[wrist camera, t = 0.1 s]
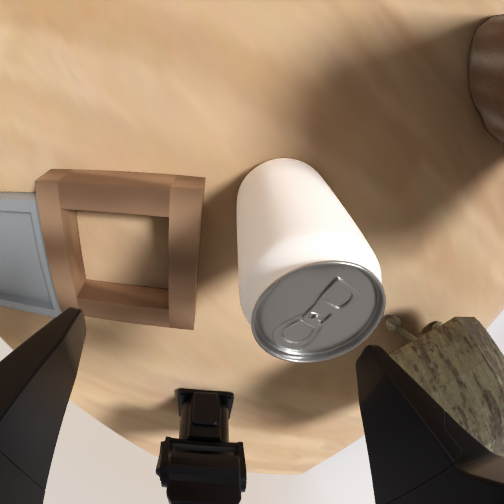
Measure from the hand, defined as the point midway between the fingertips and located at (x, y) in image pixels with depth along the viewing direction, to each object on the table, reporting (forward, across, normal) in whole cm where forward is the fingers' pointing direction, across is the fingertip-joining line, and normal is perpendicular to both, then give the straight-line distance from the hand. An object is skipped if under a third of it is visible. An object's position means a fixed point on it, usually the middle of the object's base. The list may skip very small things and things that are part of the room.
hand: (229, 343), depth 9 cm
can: (+15, -4, +1) cm, 15 cm away
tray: (+15, +20, +10) cm, 26 cm away
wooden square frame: (+14, +7, +7) cm, 18 cm away
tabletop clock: (+15, -24, +13) cm, 31 cm away
